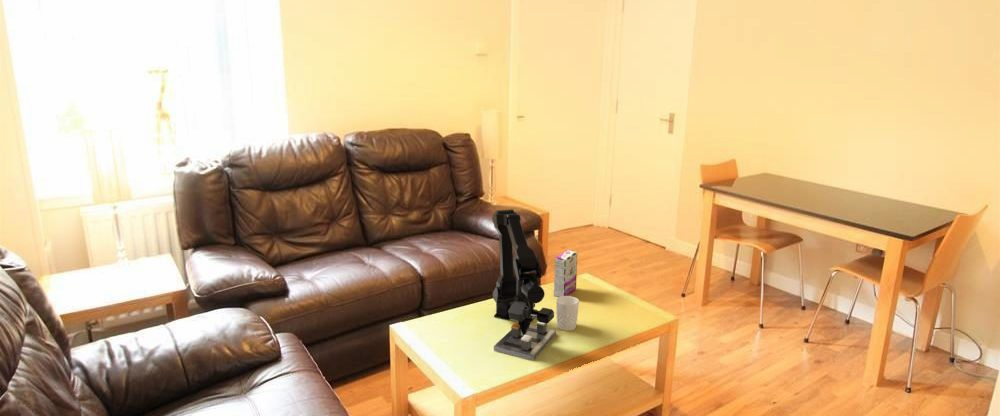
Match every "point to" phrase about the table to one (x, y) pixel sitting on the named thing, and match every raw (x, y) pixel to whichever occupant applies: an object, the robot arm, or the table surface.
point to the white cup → (567, 312)
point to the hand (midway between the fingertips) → (524, 334)
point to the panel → (513, 344)
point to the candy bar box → (565, 273)
